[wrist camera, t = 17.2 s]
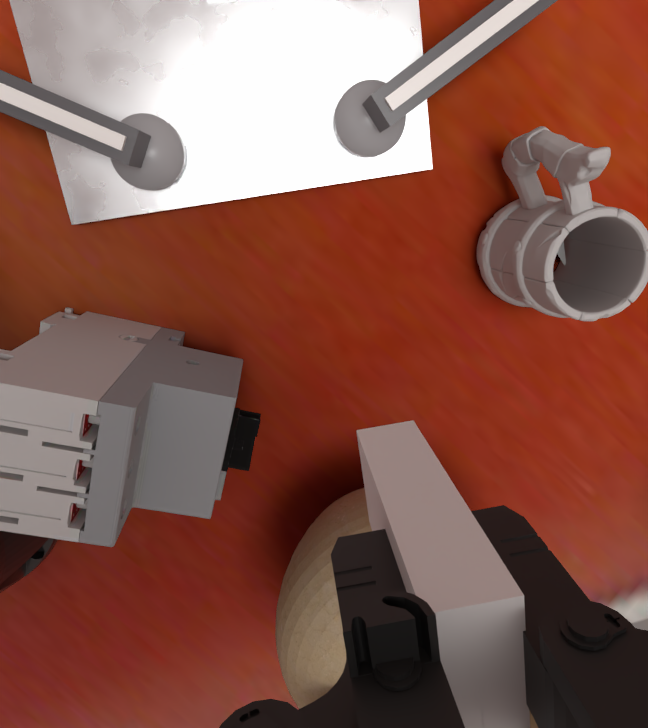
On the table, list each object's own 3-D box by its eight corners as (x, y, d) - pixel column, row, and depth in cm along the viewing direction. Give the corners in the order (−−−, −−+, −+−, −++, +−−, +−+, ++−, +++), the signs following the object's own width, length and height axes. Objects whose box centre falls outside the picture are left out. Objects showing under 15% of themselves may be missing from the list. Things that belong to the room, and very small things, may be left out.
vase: (298, 632, 48) (338, 1273, 19) (253, 464, 43) (216, 994, 14) (484, 588, 48) (790, 1153, 20) (460, 417, 43) (824, 841, 15)
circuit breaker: (248, 441, 42) (235, 565, 28) (55, 406, 40) (-65, 521, 26) (268, 349, 40) (266, 432, 26) (67, 307, 38) (-56, 372, 24)
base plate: (76, 224, 37) (61, 226, 34) (5, -37, 32) (-20, -59, 30) (428, 169, 38) (440, 167, 35) (406, -91, 33) (418, -117, 31)
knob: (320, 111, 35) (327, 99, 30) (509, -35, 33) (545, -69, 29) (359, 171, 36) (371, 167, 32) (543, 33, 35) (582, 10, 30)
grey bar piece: (172, 201, 36) (158, 201, 31) (-58, 106, 33) (-109, 92, 29) (195, 133, 35) (183, 124, 30) (-41, 30, 32) (-91, 3, 28)
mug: (487, 317, 41) (569, 363, 30) (442, 159, 38) (516, 143, 26) (583, 280, 41) (703, 313, 30) (547, 118, 38) (668, 83, 26)
